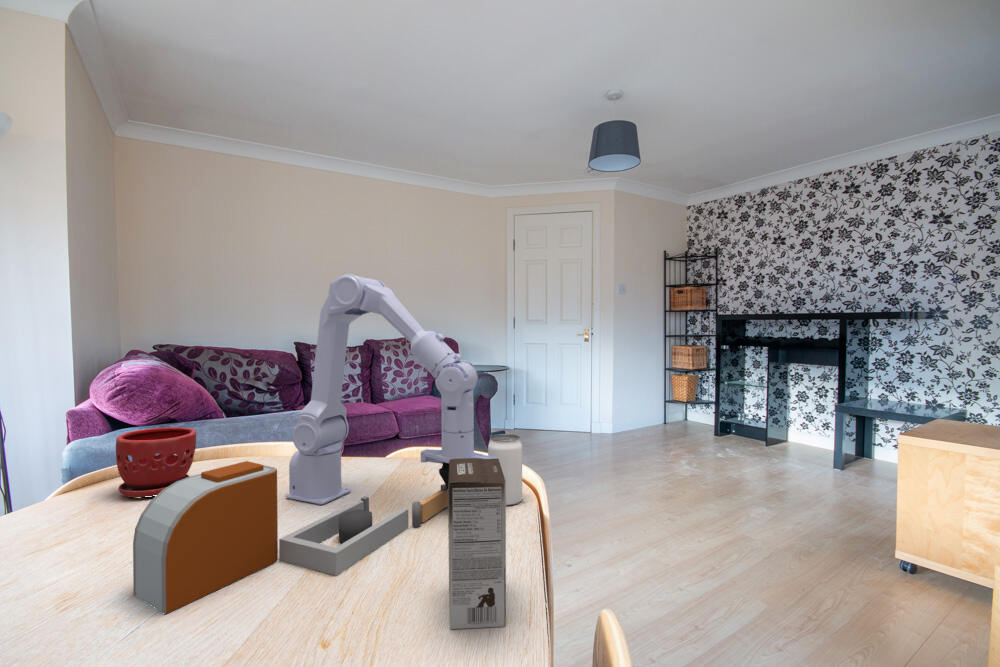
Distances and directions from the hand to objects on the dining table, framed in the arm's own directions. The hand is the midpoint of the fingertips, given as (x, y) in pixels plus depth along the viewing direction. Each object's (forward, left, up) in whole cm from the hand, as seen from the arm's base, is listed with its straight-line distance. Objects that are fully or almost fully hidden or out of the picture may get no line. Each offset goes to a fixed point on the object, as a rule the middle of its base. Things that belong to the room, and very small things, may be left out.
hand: (458, 506), depth 82 cm
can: (+5, +8, -1) cm, 10 cm away
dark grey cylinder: (-10, -15, -1) cm, 18 cm away
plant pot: (-62, -15, -1) cm, 63 cm away
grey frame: (-10, -17, -1) cm, 19 cm away
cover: (-3, -3, -1) cm, 5 cm away
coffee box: (+15, -24, -1) cm, 28 cm away
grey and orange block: (-20, -32, -1) cm, 37 cm away
